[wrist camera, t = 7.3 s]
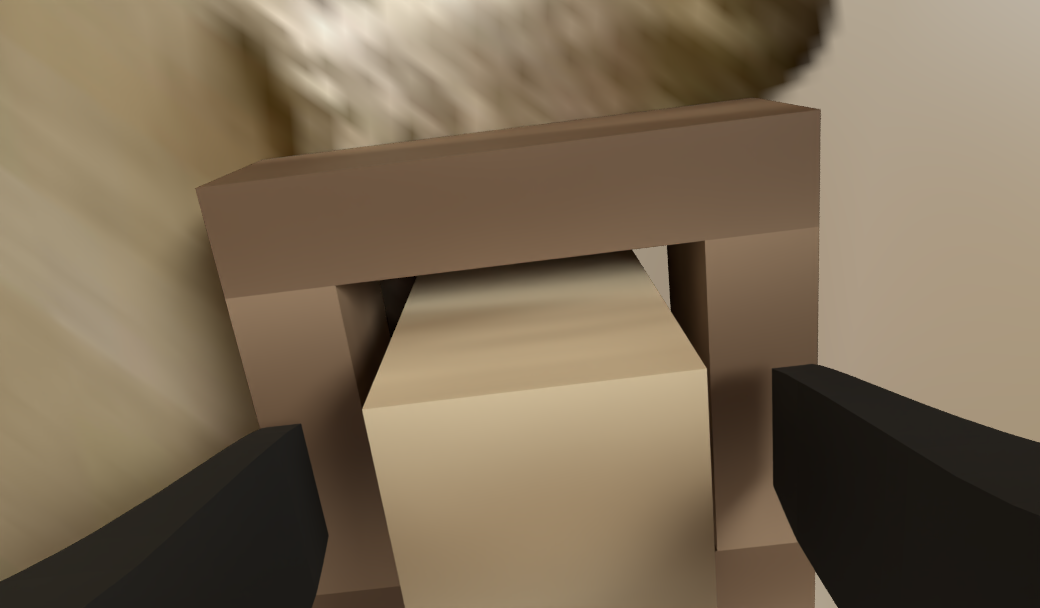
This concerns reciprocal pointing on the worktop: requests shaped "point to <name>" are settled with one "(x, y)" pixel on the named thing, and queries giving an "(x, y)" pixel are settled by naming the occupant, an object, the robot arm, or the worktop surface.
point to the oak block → (545, 441)
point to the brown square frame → (526, 238)
